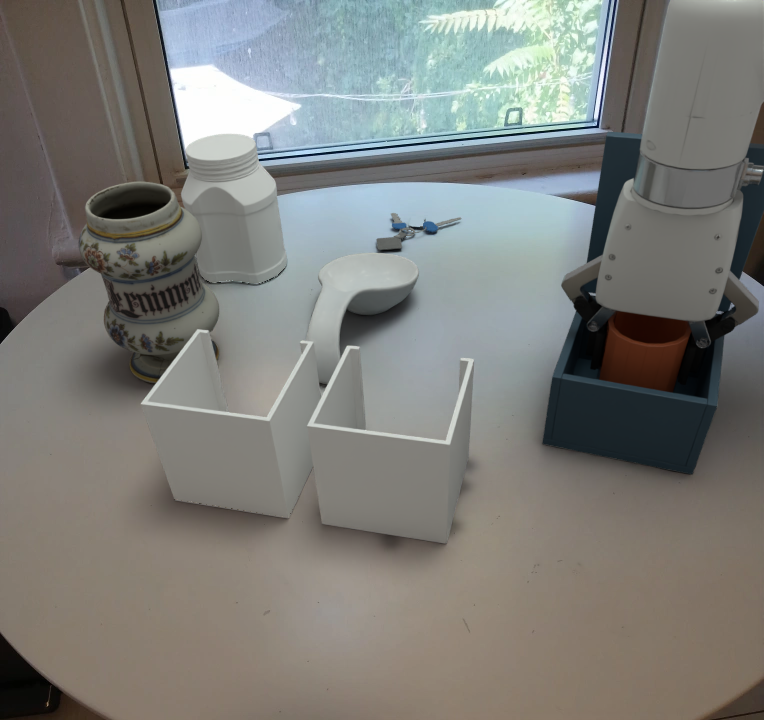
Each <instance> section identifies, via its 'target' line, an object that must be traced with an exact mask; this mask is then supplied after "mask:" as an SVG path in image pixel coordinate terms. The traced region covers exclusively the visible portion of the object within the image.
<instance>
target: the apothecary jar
mask: <svg viewBox="0 0 764 720" xmlns="http://www.w3.org/2000/svg"><path fill="white" fill-rule="evenodd" d="M84 210H85V212H84V213H85V216H86V223H85V225H84V227H82V230H81V232H80V234H79V238H78V243H77V244H78V251H79V254H80V256H81V259H82V260H83V262H84V263H85V264H86V265H87V266H88V267H89V268H90V269H92V270H93V271H95V272H97V273H99V274H100V275H101V278H102V281H103V284H104V287H105V291H106V293H107V298H108V302H107V304H106V306H105V309H104V311H103V312H104V313H103V325H104V328H105V331H106V333H107V335H108V336H109V338H110V339H111V341H113V343H115V344H116V345H117V346H118V347H120V348H123V349H125V350H127V351H129V352H132V355H131V357H130V359H129V370H130V371H131V373H132V374H133V375H134V376H135V377H136V378H137V379H139V380H141V381H143V382H146V383H150V384H154V385H155V384H156V383H157V382H158V380H159V379H160V378H161V376H162V375H163V374H164V372H165V371H166V370H167V369H168V367H169V366H170V365H171V363H172V362H173V361H174V359H175V358H176V357H177V355H178V354H179V353H180V351H181V350H182V349H183V348H184V346H185V345H186V344H187V342H188V341H189V340H190V338H191V337H192V336H193V334H194V333H195V332H196V331H197V329H200V330H209V333H210V334H211V332H212V331H213V330H214V329H215V327H216V325H217V323H218V320H219V317H220V303H219V300H218V297H217V296H216V294H215V293H214V291H213V290H212V289H211V288H210V287H209V286H208V285H207V284H205V283H203V282H202V279H201V275H200V272H199V268H198V263H197V258H196V253H197V251H198V249H199V247H200V244H201V240H202V231H201V227H200V225H199V223H198V221H197V219H196V218H195V217H194V216H193V215H192V214H191V213H190V212H189V211H187V210H186V209H185V207H183V206H181V205H180V203H179V202H178V198H177V195H176V193H175V192H174V190H173V189H172V188H170V187H169V186H167V185H164V184H161V183H159V182H154V181H130V182H125V183H119V184H116V185H112V186H108V187H106V188H104V189H102V190H99V191H97V192H96V193H95V194H93V195H92V196H91V197H90V198H88V200H87V201H86V203H85V206H84ZM211 341H212V345H213V349H214V353H215V357H216V361H218V360H219V356H220V349H219V347H218V344H217V343H216V342H215V341H214V340H213V339H212V338H211Z"/></svg>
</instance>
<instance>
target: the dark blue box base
mask: <svg viewBox="0 0 764 720" xmlns="http://www.w3.org/2000/svg"><path fill="white" fill-rule="evenodd" d="M590 295H591V296H592V297H593V299H594V300H595V301H596V295H594V294H590ZM596 302H597V301H596ZM719 314H720V313H718V312H716V314H715V316H714V317H716V316H718V315H719ZM714 317H713V318H714ZM711 319H712V318H711ZM589 332H590V331H589V330H588V328H587V323H586V322H585V321H584V319H583V318H582V317H581V316H580V315H579V313H578V312H577V311H576V310H575V313H574V316H573V318H572V320H571V324H570V326H569V329H568V332H567V334H566V338H565V340H564V342H563V345H562V349H561V351H560V354H559V357H558V360H557V363H556V365H555V368H554V370H553V373H552V376H551V382H550V388H549V394H548V396H549V397H548V400H547V402H548V403H547V409H546V416H545V421H544V422H545V423H544V429H543V435H542V442H541V444H542V445H545V446H549V447H550V446H551V447H556V448H560V449H565V450H568V451H569V450H570V451H573V452H574V451H575V452H580V453H584V454H589V455H594V456H599V457H604V458H608V459H614V460H619V461H624V462H629V463H632V464H633V463H634V464H638V465H643V466H648V467H653V468H658V469H662V470H668V471H672V472H678V473H683V474H687V475H693V474H694V472H695V469H696V466H697V464H698V462H699V458H700V455H701V453H702V450H703V447H704V445H705V442H706V438H707V436H708V433H709V430H710V429H711V428H710V427H711V424H712V422H713V419H714V417H715V415H716V411H717V408H718V403H719V394H720V393H719V392H720V383H721V375H722V365H723V356H724V355H723V354H724V345H725V336H726V335H724V336H722V337H720V338H718V339H716V340H714V341H713V342H711V343H710V345H709V346H708V347H707V348H705V349H704V352H703V355H702V358H701V361H700V365H699V368H698V371H697V373H692V372H689V375H688V378H687V381H686V385H682V384H679V382H678V380H677V383H676V387H675V390H674V393H671V392H666V391H660V390H654V389H649V388H643V387H637V386H631V385H626V384H620V383H614V382H609V381H603V380H597V379H596V378H597V373H598V369H596V370H592V369H590V366H591V361H592V356H587V355H586V349H587V343H588V338H589ZM598 368H599V367H598Z"/></svg>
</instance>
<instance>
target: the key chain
mask: <svg viewBox="0 0 764 720" xmlns="http://www.w3.org/2000/svg"><path fill="white" fill-rule="evenodd" d="M390 216H391V218H392V220H393V221H394V222H392V223H391V227H392V228H393V229H396V230H399V231H398V233H397V234H396V235H393V236H391V237H389V236H388V237H378V238H376V239H375V240H376V247H377V250H378V251H386V250H400V249H403V243H402V240H404V239H406V238H407V237H406V236H411V237H413V236H415V235H416V234H418V233H422V232H424V231H427V232H431V233H435V232H437V231H438V230H439V227H441V226H444V225H448V224H452V223H454V222H458V221H460V220H463V219H462V217H461V216H459V217H455V218H449V219H447V220H442V221H440V222H437V223H435V222H433V221H431V220H427V221H426V220H425V222H424V223H423V226H420V227H423V228H422V230H418V231H416V230H415V228H411V227H407V226H408V224H407V223H406V222H403V221H402V220H401V217H400V216H399V214H398V213H396V212H391V213H390ZM403 230H406V231H405V232H407V233H405V232H404V231H403ZM409 230H411V231H409ZM412 231H413V232H412ZM408 233H409V234H408ZM414 234H415V235H414ZM412 235H413V236H412ZM405 237H406V238H405ZM403 238H404V239H403ZM401 239H402V240H401Z"/></svg>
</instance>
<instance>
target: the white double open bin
mask: <svg viewBox="0 0 764 720" xmlns="http://www.w3.org/2000/svg"><path fill="white" fill-rule="evenodd" d="M211 339H212V336H211V332H210V333H209V330H200V329H197V331H196V332H195V333H194V334H193V336H192V337H191V338H190V340H189V341H188V342H187V344H186V345H185V346H184V348H183V349H182V350H181V351H180V353H179V354H178V355H177V357H176V358H175V359H174V361H173V362H172V363H171V365H170V366H169V367H168V369H167V370H166V371H165V372H164V374H163V375H162V376H161V378H160V379H159V380H158V382H157V383H156V384H154V385H153V387H152V388H151V389H150V390H149V392H148V393H147V395H146V396H145V398H143V400H142V401H141V402H140V407H141V409H142V412H143V414H144V415H143V416H144V418H145V420H146V422H147V426H148V428H149V432H150V435H151V438H152V440H153V443H154V446H155V450H156V452H157V455H158V457H159V460H160V463H161V466H162V469H163V472H164V475H165V478H166V480H167V483H168V486H169V488H170V491H171V494H172V497H173V499H178V500H174V501H176V502H182V503H189V504H195V505H201V506H208V507H215V508H220V509H226V510H232V511H237V512H238V511H239V512H246V513H251V514H258V515H264V516H270V517H277V518H283V519H290V517H291V515H292V513H293V511H294V510H295V509H294V508H295V507H296V505H297V503H298V500H299V498H300V496H301V494H302V492H303V489H304V487H305V485H306V483H307V480H308V478H309V476H310V474H311V472H312V469H313V474H314V481H315V486H316V493H317V500H318V501H317V502H318V507H319V512H320V513H319V515H320V520H321V525H327V526H333V527H337V528H338V527H339V528H343V529H344V528H345V529H352V530H358V531H364V532H370V533H377V534H383V535H389V536H396V537H402V538H407V539H413V540H414V539H415V540H420V541H426V542H433V543H439V544H444V545H445V544H446V545H447V544H448V540H449V536H450V533H451V529H452V526H453V525H452V524H453V521H454V516H455V512H456V510H457V509H456V508H457V505H458V501H459V498H460V493H461V489H462V486H463V481H464V478H465V474H466V470H467V467H468V461H469V458H470V457H469V456H470V443H471V421H472V407H473V406H472V405H473V390H474V389H473V387H474V369H475V358H467V357H460V358H459V359H460V360H459V375H458V396H457V399H456V404H455V407H454V411H453V414H452V418H451V420H450V424H449V428H448V431H447V433H446V434H447V435H446V438H445V440H444V439H437V438H429V437H421V436H413V435H405V434H398V433H390V432H382V431H376V430H367V423H366V410H365V395H364V384H363V382H364V381H363V370H362V358H361V346H359V345H358V346H356V345H348V344H347V345H346V347H345V349H344V351H343V353H342V355H341V359H340V361H339V363H338V365H337V367H336V369H335V371H334V373H333V375H332V377H331V379H330V381H329V383H328V384H326V387H325V388H324V391H323V393H322V395H321V389H320V383H319V380H318V372H317V364H316V357H315V349H314V342H311V341H306V340H302V339H301V341H299V346H300V352H301V355H300V356H299V359H298V360H297V362H296V364H295V365H294V368H293V369H292V371H291V373H290V375H289V376H288V378H287V380H286V381H285V384H284V386H283V387H282V388H281V391H280V392H279V393H278V395H277V398H276V400H275V401H274V403H273V404H272V407H271V408H270V410H269V413H268V414H267V415H266V416H259V415H253V414H247V413H246V414H245V413H238V412H230V411H229V405H228V402H227V398H226V393H225V391H224V386H223V382H222V378H221V373H220V370H219V366H218V362H217V361H218V360H217V361H216V357H215V353H214V349H213V345H212V341H211ZM298 496H299V497H298ZM181 500H183V501H181ZM187 501H188V502H187ZM189 501H190V502H189ZM191 501H192V502H191ZM193 502H197V503H193ZM199 503H202V504H199ZM206 504H207V505H206ZM212 505H214V506H212ZM215 505H216V506H215ZM218 506H221V507H218ZM225 507H227V508H225ZM231 508H233V509H231ZM237 509H240V510H237ZM292 509H293V510H292ZM243 510H246V511H243ZM250 511H252V512H250ZM256 512H258V513H256ZM262 513H264V514H262ZM290 513H291V514H290ZM269 514H270V515H269ZM275 515H276V516H275ZM281 516H283V517H281ZM288 517H289V518H288Z"/></svg>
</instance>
